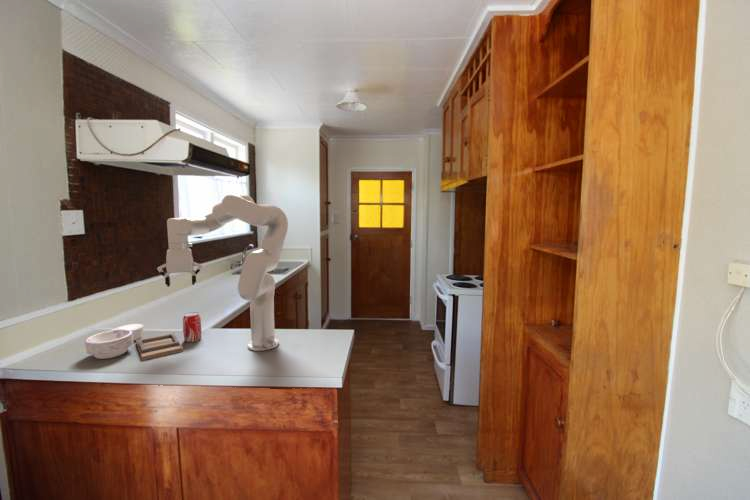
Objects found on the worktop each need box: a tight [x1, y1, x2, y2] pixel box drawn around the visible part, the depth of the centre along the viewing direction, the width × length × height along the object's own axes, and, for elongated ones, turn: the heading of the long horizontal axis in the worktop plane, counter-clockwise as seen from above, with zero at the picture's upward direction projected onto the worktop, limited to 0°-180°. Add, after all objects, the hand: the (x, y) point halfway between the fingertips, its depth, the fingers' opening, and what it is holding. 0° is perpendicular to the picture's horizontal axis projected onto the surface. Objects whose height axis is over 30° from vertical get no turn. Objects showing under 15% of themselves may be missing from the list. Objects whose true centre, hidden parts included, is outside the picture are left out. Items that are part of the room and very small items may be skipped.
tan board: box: [135, 332, 184, 361], centre depth 147 cm, size 22×14×2 cm, turn 39°
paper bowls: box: [84, 329, 134, 360], centre depth 139 cm, size 15×15×8 cm
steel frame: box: [138, 333, 180, 353], centre depth 146 cm, size 13×13×1 cm
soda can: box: [182, 311, 203, 343], centre depth 154 cm, size 7×7×12 cm
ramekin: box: [113, 323, 144, 342], centre depth 156 cm, size 11×11×5 cm
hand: (181, 285), depth 153 cm, fingers open, 9 cm apart
